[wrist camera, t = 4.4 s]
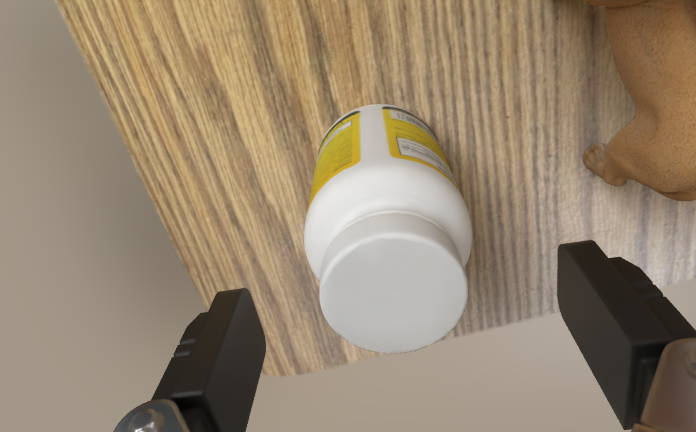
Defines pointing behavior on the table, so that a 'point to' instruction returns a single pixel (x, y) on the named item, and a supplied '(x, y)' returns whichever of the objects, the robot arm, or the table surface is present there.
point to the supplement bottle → (387, 232)
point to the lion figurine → (653, 96)
